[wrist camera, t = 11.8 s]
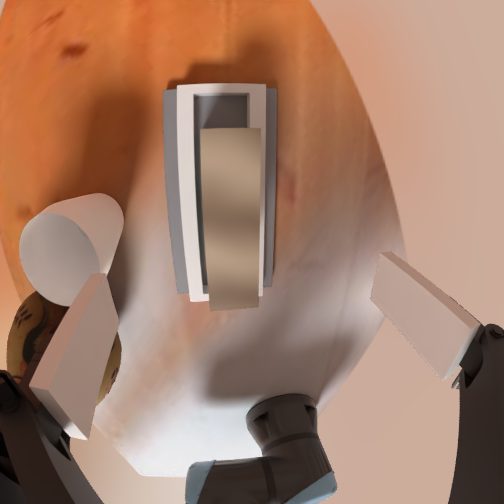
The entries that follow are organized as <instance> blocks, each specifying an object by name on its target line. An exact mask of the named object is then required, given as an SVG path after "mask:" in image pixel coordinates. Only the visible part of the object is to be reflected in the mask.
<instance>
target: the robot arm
mask: <svg viewBox="0 0 504 504" xmlns="http://www.w3.org/2000/svg"><path fill="white" fill-rule="evenodd" d="M370 299H371V300H372V301H373V302H374V303H375V305H376V306H377V307H378V308H379V309H380V310H381V311H382V312H383V313H384V314H385V316H386V317H387V318H388V319H389V320H390V321H391V322H392V323H393V324H394V326H395V327H396V328H397V329H398V330H399V331H400V332H401V333H402V335H403V336H404V337H405V338H406V339H407V340H408V342H409V343H410V344H411V345H412V346H413V347H414V349H415V350H416V351H417V352H418V353H419V355H420V356H421V357H422V358H423V359H424V360H425V362H426V363H427V364H428V365H429V367H430V368H431V369H432V370H433V371H434V373H435V374H436V375H437V376H438V377H439V379H440V380H441V381H443V380H445V379H447V378H448V377H450V376H452V375H453V374H454V372H455V370H456V369H457V367H458V365H460V366H461V367H462V370H461V371H460V373H459V375H458V376H457V378H456V379H455V381H454V382H453V384H452V388H454V387H455V385H456V384H457V382H459V385H458V386H457V388H456V389H460V417H459V436H458V449H457V457H456V464H455V471H454V478H453V483H452V488H451V493H450V498H449V502H448V504H504V330H503V329H502V328H501V327H499V326H498V325H495V324H487V325H486V326H483V325H482V324H481V323H480V322H479V321H478V320H476V318H474V317H473V316H472V315H471V314H470V313H469V312H467V311H466V310H464V308H463V307H462V306H461V305H459V304H458V303H457V302H456V301H455V300H454V299H452V298H451V297H449V296H448V295H447V294H445V293H444V292H443V291H442V290H441V289H439V288H438V287H436V285H434V284H433V283H432V282H431V281H429V280H428V279H427V278H425V277H424V276H423V275H422V274H420V273H419V272H418V271H416V270H415V269H414V268H412V267H411V266H410V265H409V264H407V263H406V262H405V261H403V260H402V259H400V258H399V257H398V256H396V255H395V254H394V253H392V252H382V253H380V255H379V260H378V265H377V270H376V275H375V279H374V283H373V288H372V292H371V296H370ZM119 324H120V322H119V318H118V315H117V312H116V309H115V305H114V302H113V298H112V295H111V291H110V288H109V284H108V280H107V276H106V273H96V274H91V275H90V276H89V278H88V279H87V281H86V282H85V284H84V285H83V287H82V288H81V290H80V292H79V293H78V295H77V296H76V298H75V300H74V301H73V303H72V304H71V306H70V308H69V309H68V311H67V313H66V314H65V316H64V318H63V320H62V321H61V323H60V325H59V327H58V328H57V330H56V332H55V334H48V335H47V336H46V337H45V338H44V339H43V340H42V341H41V342H40V344H39V346H38V347H37V349H36V351H35V352H36V353H34V355H33V357H32V359H31V360H32V361H30V363H29V365H28V367H27V369H26V371H25V373H24V375H23V377H22V379H21V381H20V383H19V385H18V384H17V383H16V381H15V380H14V379H13V377H12V376H11V374H10V373H9V372H7V371H6V370H0V504H104V503H103V502H102V501H101V499H100V498H99V497H98V495H97V494H96V492H95V491H94V489H93V488H92V487H91V485H90V484H89V482H88V481H87V479H86V478H85V476H84V474H83V473H82V471H81V470H80V468H79V466H78V465H77V463H76V461H75V459H74V458H73V456H72V454H71V453H70V451H69V449H68V447H67V445H66V443H65V441H64V440H63V439H62V437H61V436H60V435H61V431H62V429H63V430H64V431H65V432H66V433H67V434H68V435H69V436H70V437H74V438H79V439H84V440H89V435H90V430H91V425H92V421H93V416H94V411H95V407H96V403H97V399H98V395H99V391H100V387H101V383H102V379H103V376H104V372H105V369H106V365H107V362H108V358H109V355H110V352H111V348H112V345H113V342H114V339H115V336H116V333H117V330H118V327H119ZM246 423H247V428H248V430H249V432H250V434H251V435H252V437H253V438H254V440H255V441H256V443H257V444H258V445H259V447H260V448H261V451H262V455H263V457H256V458H247V459H236V460H222V461H216V460H213V461H205V462H195V463H193V464H192V465H191V466H190V467H189V469H188V473H187V478H186V489H185V501H186V504H317V503H319V502H321V501H323V500H325V499H327V498H329V497H330V496H332V495H333V494H334V493H335V492H336V490H337V483H336V480H335V477H334V471H332V468H331V465H330V463H329V461H328V458H327V456H326V453H325V451H324V448H323V446H322V444H321V442H320V439H319V436H318V433H317V408H316V406H315V403H314V401H313V400H312V399H311V398H310V397H308V396H306V395H301V394H289V395H283V396H278V397H274V398H271V399H269V400H266V401H264V402H262V403H260V404H258V405H257V406H255V407H254V408H252V409H251V410H250V411H249V413H248V414H247V416H246Z"/></svg>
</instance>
